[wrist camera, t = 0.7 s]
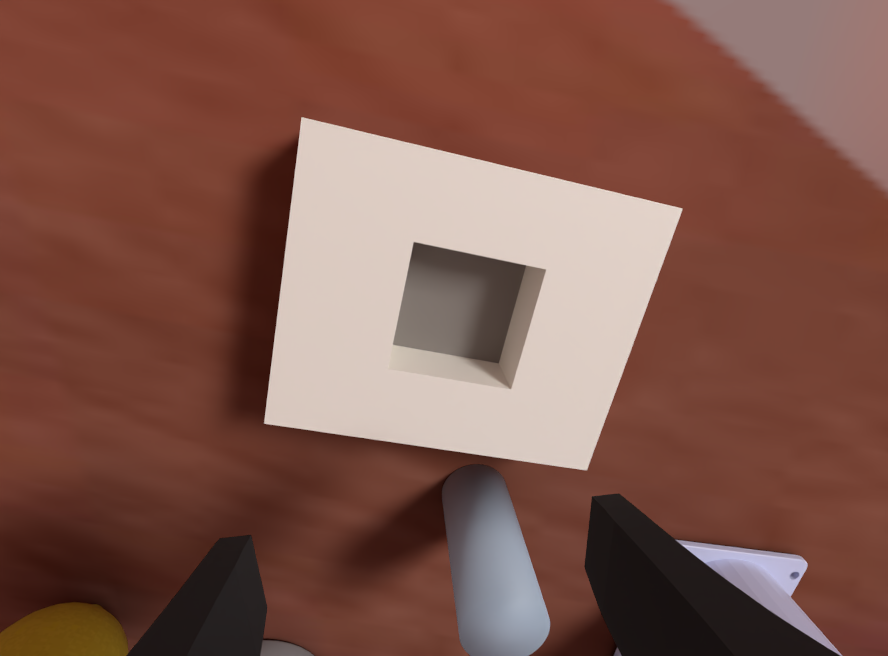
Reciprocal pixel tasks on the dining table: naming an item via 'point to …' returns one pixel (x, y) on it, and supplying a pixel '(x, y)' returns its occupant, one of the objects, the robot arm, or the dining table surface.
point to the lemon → (65, 633)
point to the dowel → (491, 567)
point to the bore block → (456, 299)
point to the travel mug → (282, 649)
